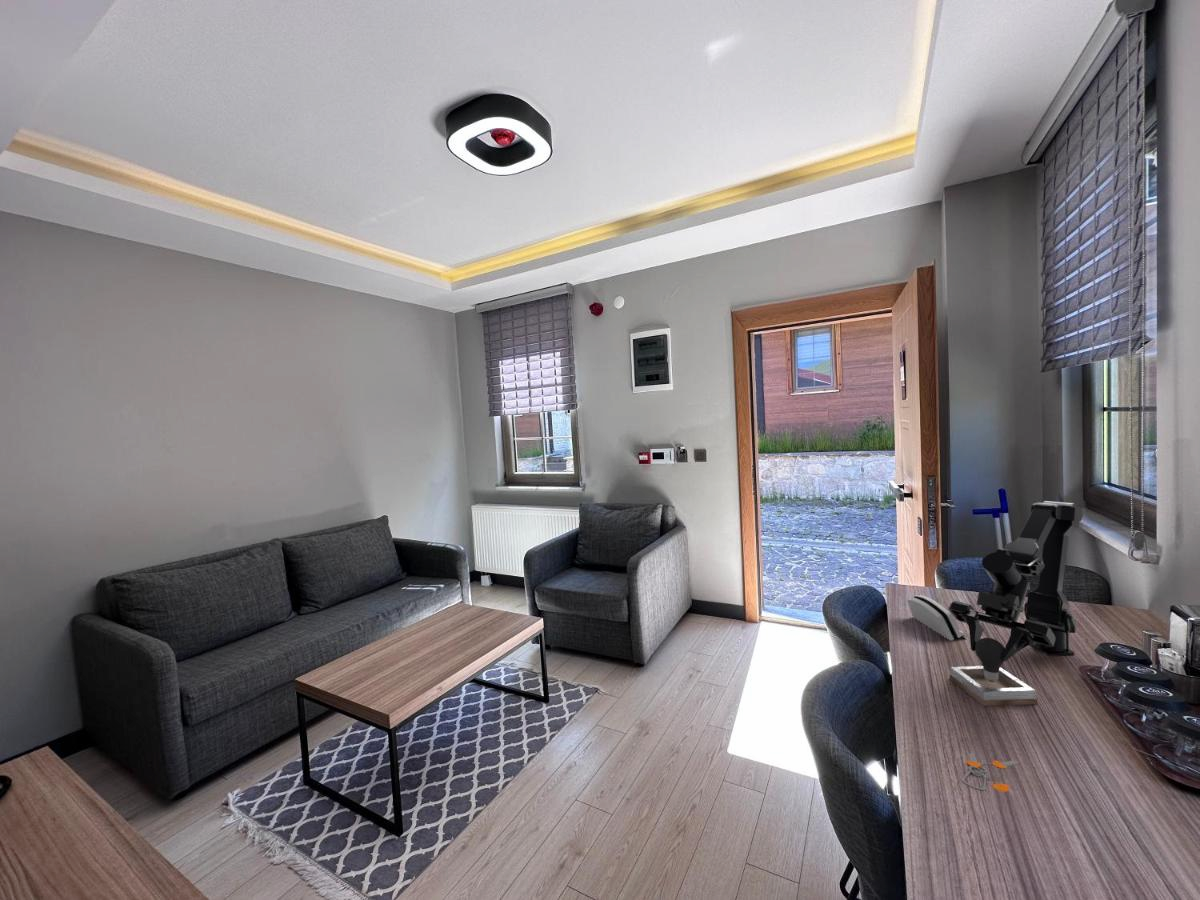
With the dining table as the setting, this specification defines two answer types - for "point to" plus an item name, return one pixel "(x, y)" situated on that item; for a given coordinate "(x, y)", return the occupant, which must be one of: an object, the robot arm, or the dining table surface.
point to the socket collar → (1014, 693)
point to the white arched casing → (934, 616)
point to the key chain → (977, 765)
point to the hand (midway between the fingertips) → (987, 655)
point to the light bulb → (990, 657)
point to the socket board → (995, 684)
